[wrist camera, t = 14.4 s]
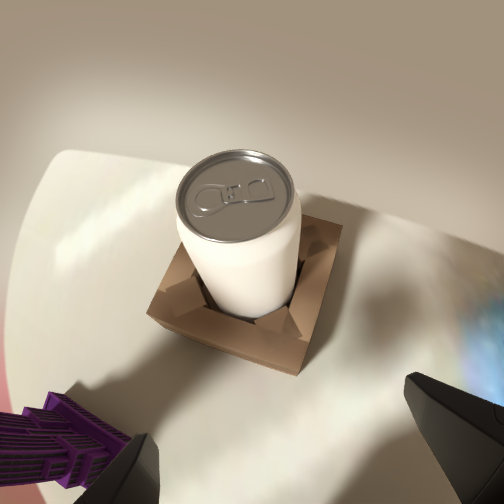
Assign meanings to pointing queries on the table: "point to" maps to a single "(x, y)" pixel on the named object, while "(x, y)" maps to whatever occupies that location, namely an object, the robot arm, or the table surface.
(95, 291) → the table surface
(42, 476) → the building model
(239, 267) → the can
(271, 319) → the socket block
